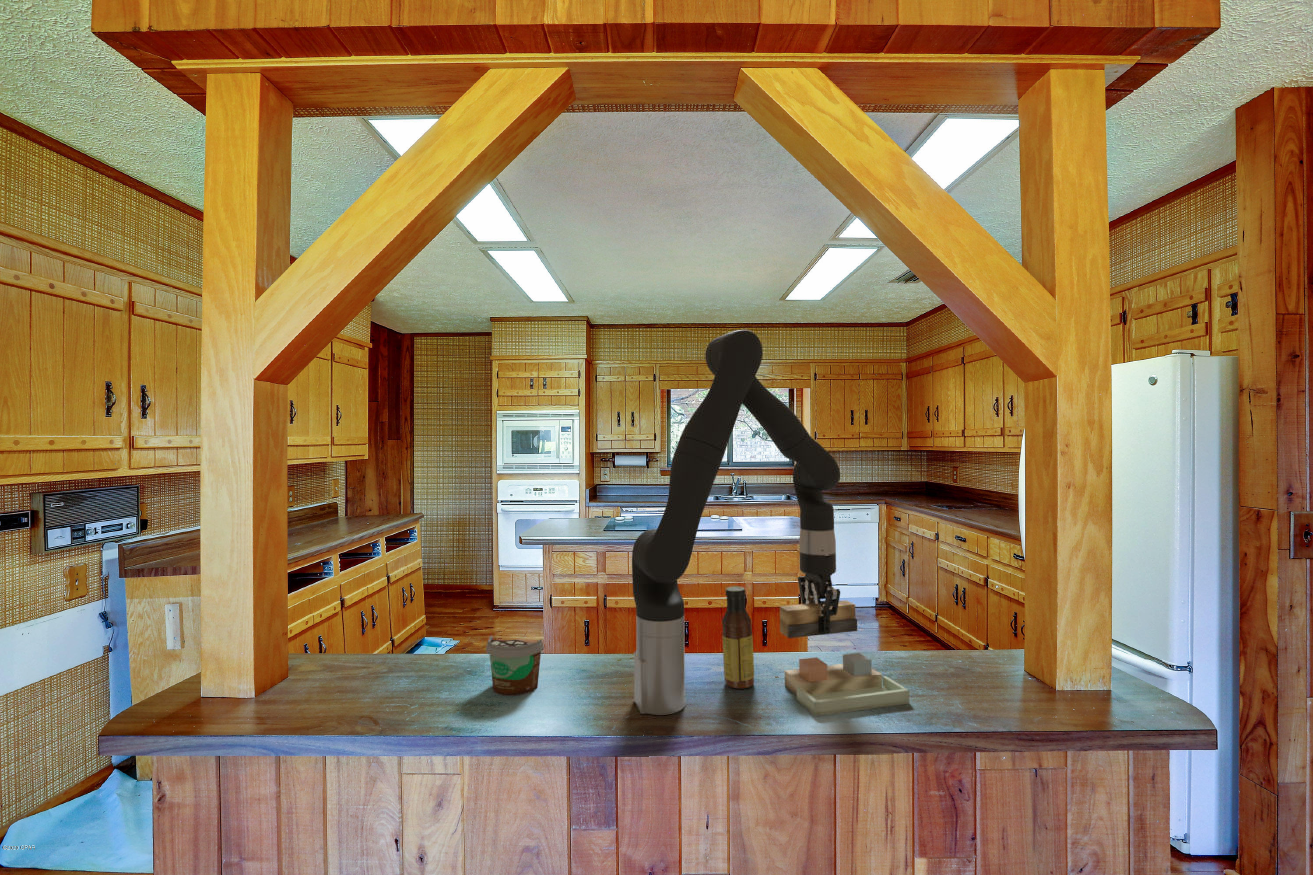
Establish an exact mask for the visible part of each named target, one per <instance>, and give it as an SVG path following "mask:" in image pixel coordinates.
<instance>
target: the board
mask: <svg viewBox="0 0 1313 875" xmlns="http://www.w3.org/2000/svg"><path fill="white" fill-rule="evenodd" d="M784 686H785V687H786V688H787V689H788V690H790V691H791V692H792V693H793V694H794V695H796V696H797V687H801V688H803V689H804V690H805V691H806V692H807V693H809V694H810V695H816V694H824V693H832V692H840V691H848V690H856V689H863V688H871V687H879V686H883V676H882V673H880V672H878V671H877V670H876V669H874V668H872V674H870V675H862V676H853V675H851V674H850V673H848V672H847V671H845V670H844V669H843V663H840V664H839V663H838V664H832V665H831V664H830V665H829V664H828V665H827V680H821V681H812V682H809V681H807V680H806V679H805V678H804V677H802V676H801V675H800V674H799V668H795V669H787V670H784Z"/></svg>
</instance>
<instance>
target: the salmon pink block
mask: <svg viewBox="0 0 1313 875" xmlns="http://www.w3.org/2000/svg"><path fill="white" fill-rule="evenodd" d="M827 666H828V663H826V662H824V661H823V660H821V659H820V658H818V657H809V658H807V657H806V658H800V659H798V669H799V674H800V675H801V676H802V677H804V678H805V679H806V680H807V681H809V682H812V681H821V680H827Z"/></svg>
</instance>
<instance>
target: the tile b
mask: <svg viewBox="0 0 1313 875" xmlns="http://www.w3.org/2000/svg"><path fill="white" fill-rule="evenodd" d="M842 664H843V669H844V670H845V671H847V672H848V673H850V674H851V675H853V676H862V675H870V674H872V669H873V668H872V667H873V666H872V659H871V658H870V657H868V656H867V655H865V654H863V653H861V652H854V653H845V654H842Z"/></svg>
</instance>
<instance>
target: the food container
mask: <svg viewBox="0 0 1313 875" xmlns="http://www.w3.org/2000/svg"><path fill="white" fill-rule="evenodd" d="M544 647H545V646H544V642H543V641H542V638H540V639H539V640H537V641H535V642H527V641H524V640H519V639H509V640H501V639H494V638H493V635H490V636H489V638H488V641H487V642H486V648H485V652H486V653H487V654H488V655H489V659H490V661H489V662H490V670H491V671H490V672H491V681H492V689H493V692H494V693H496V694H497V695H501V696H508V697H509V696H510V697H513V696H521V694H522V695H525V693H526V694H528V692H529V693H531V692H533V691H535V690H536V689H538V688H537V687H538V686H539V678H540V677H539V676H540V666H541V665H540V664H541V657H542V656H541V654H542V651H544V650H545V648H544ZM534 689H535V690H534Z"/></svg>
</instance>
